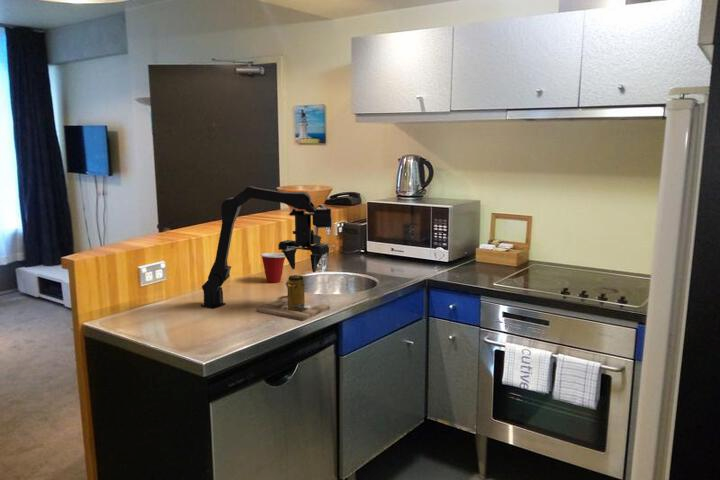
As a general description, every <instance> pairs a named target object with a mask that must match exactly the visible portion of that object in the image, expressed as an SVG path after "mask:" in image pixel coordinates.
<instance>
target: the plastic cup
mask: <svg viewBox="0 0 720 480" xmlns="http://www.w3.org/2000/svg"><path fill="white" fill-rule="evenodd" d="M260 256H261V259H262V263H263V268H264V270H263V271H264V275H265V280H266V282H267V284H268V283H269V284H278V283H280V282H281V280H282V274H283V270H284V263H285V260H286V257H285V255H284V253H277V252H276V253H275V252H267V253H266V252H265V253H264V252H263V253H260Z"/></svg>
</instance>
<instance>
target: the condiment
mask: <svg viewBox="0 0 720 480" xmlns="http://www.w3.org/2000/svg"><path fill="white" fill-rule="evenodd" d="M287 283H288V284H287V285H288V287H287V286H286V289H287V288H288V289H287V295H288V305H286V310H291V311H296V312H303V311H305V310H308V309H310V308H311V305H306V304H305V299H306V298H305V289H306V288H305V284H304V276H302V275H299V274H298V275H295V274H294V275H289V276H288V282H287Z"/></svg>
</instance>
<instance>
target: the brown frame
mask: <svg viewBox="0 0 720 480" xmlns="http://www.w3.org/2000/svg"><path fill="white" fill-rule="evenodd" d="M285 306H288V298H287V297H283V298H280V299H277V300H275V301H273V302H270V303H266V304H264V305H261V306H258V307H257V308H256V311H257V312H260V313H264V314H268V315H275V316H277V317H284V318H288V319H294V320H298V321H306V320H308V319H311V318H313V317H315V316H317V315H319V314H321V313H324V312H326V311H329V310H330V305H328V304H321V303H319V304H318V305H315V306H312V307H310V309H308V310H305V311H300V312H296V311H291V310H287V308H286V309H285V308H283V307H285Z"/></svg>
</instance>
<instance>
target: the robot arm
mask: <svg viewBox="0 0 720 480" xmlns="http://www.w3.org/2000/svg"><path fill="white" fill-rule="evenodd" d="M251 199H255V200H261V201H268V202H274V203H280V204H284V205H287V206H289V207H291V208H293V209H292V210H291V212H289V213H288V215H289V216H290V217H291V216H292V217H294V230H293V231H292V234H293V235H294V240H290V239H286V240H282V241H279V243H278V246H277V247H278V250H279V251H281V253H282V254H284V255H285V259H287V261H288V263H289V266H290V268H291V269H292V270H296V253H297V251H298V250H303V251H310V252H311V254H309V256H310V264H311V270H312V272H313V273H316V271H317V267H318V265H319V263H320V260H321V258H322V257H323V256H325V255H326V254H327V253H329V252H330V247H329V245H328V244H324V243H321V241H322V236H320V235H317V234H315V232H314V230H313V229H312V225H313V226H314V227H315V228H316V229H318V228H319V229H322V228H323V229H324V228H325V229H327V228H328V229H332V227H333V225H332V224H333V216H332V209H331V208H317V207H316V206H315V205H314V203H313V202H312V197H311V195H310V193H308V192H306V191H289V192H288V191H286V192H285V191H280V190H273V189H267V188H260V187H257V186H253V185H250V186H247V187H245V188H244V190H242V191H241V192H239V193H238V194H237V195H236V196H234V197H233V196H232V197H228V198H227V199H225V200H223V201H222V203H221V206H220V208H221V209H220V217H221V226H220V227H221V228H220V233H219V237H218V244H217V247H216V248H217V250H216V255H215V258H214V259H215V260H214V263H213V264H212V267H211V269H210V271H209V273H208V274H209V275H208V276H207V281H205V283H204V284H202V286H201V289H202V291H203V303H202V304H200V307H205V308H210V309H216V308H219V307H222V306H225V305H226V302H224V293H223V292H224V291H223V287H222V286H223V284H224V283H225V282H226V281H227V280H228V279H229V278H231V277H230V273H231V269H232V265H228V258H229V254H230V253H229V251H230V248H231V242H232V238H233V237H232V235H233V231H234V226H235V223H236V220H237V218H238V216H239V214H240V211H241V208H242V206H243V205H244V204H245V203H247V202H248V201H249V200H251Z"/></svg>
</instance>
